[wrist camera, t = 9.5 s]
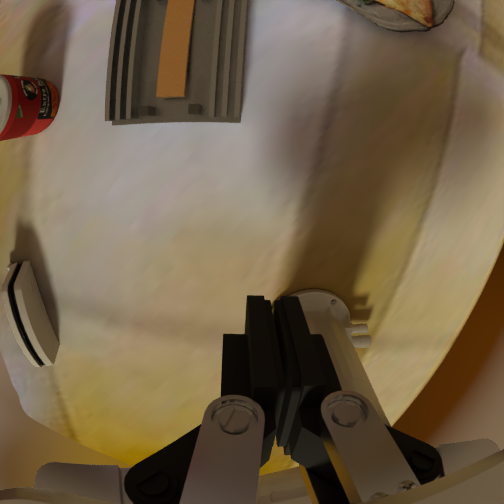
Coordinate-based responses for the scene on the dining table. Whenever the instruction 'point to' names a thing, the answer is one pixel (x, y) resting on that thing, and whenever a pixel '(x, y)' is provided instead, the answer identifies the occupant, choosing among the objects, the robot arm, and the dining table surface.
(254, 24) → the dining table surface
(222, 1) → the heatsink
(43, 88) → the canned food
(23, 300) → the white curved block
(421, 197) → the dining table surface
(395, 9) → the food plate
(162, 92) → the orange brown flat bar
